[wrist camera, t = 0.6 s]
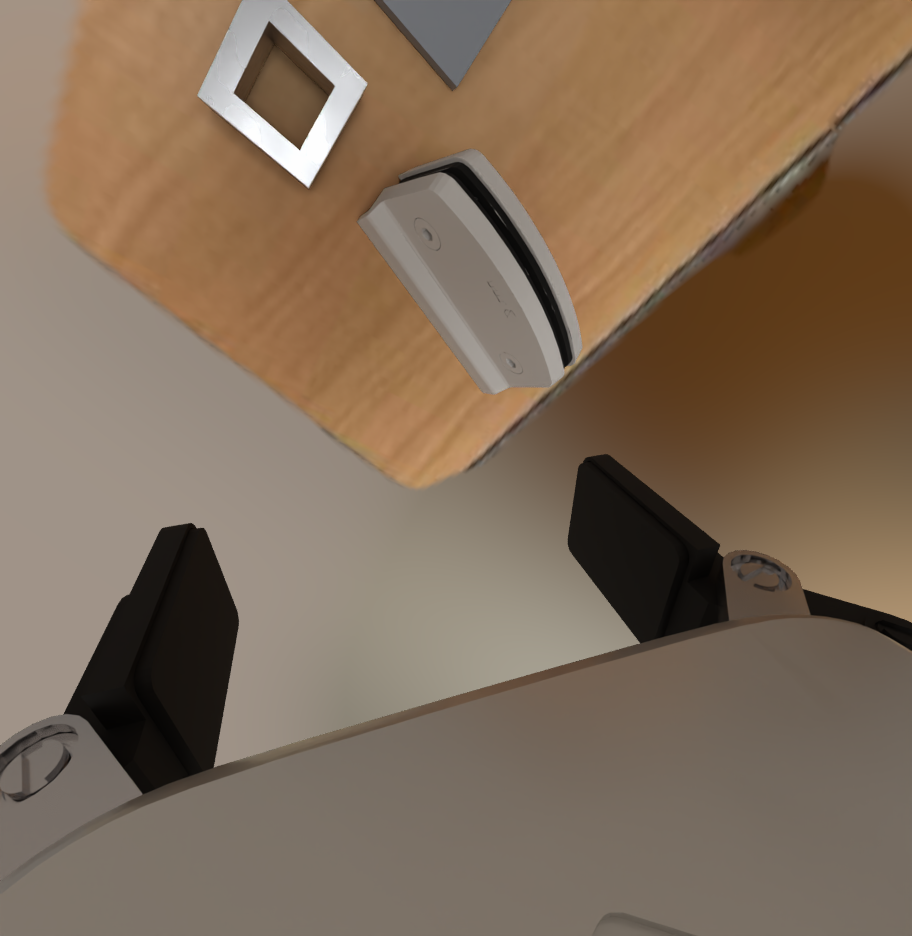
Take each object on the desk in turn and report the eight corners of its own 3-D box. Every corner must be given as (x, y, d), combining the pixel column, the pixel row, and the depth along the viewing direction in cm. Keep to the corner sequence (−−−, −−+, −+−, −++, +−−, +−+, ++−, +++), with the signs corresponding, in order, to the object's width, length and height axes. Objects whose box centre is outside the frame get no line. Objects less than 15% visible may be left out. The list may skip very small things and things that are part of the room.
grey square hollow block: (264, -1, 23) (256, -31, 20) (361, 97, 26) (367, 83, 23) (210, 109, 24) (197, 95, 22) (308, 189, 27) (308, 187, 25)
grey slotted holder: (352, 215, 29) (421, 169, 21) (400, 171, 30) (484, 110, 21) (484, 395, 38) (568, 413, 30) (518, 358, 39) (608, 364, 31)
